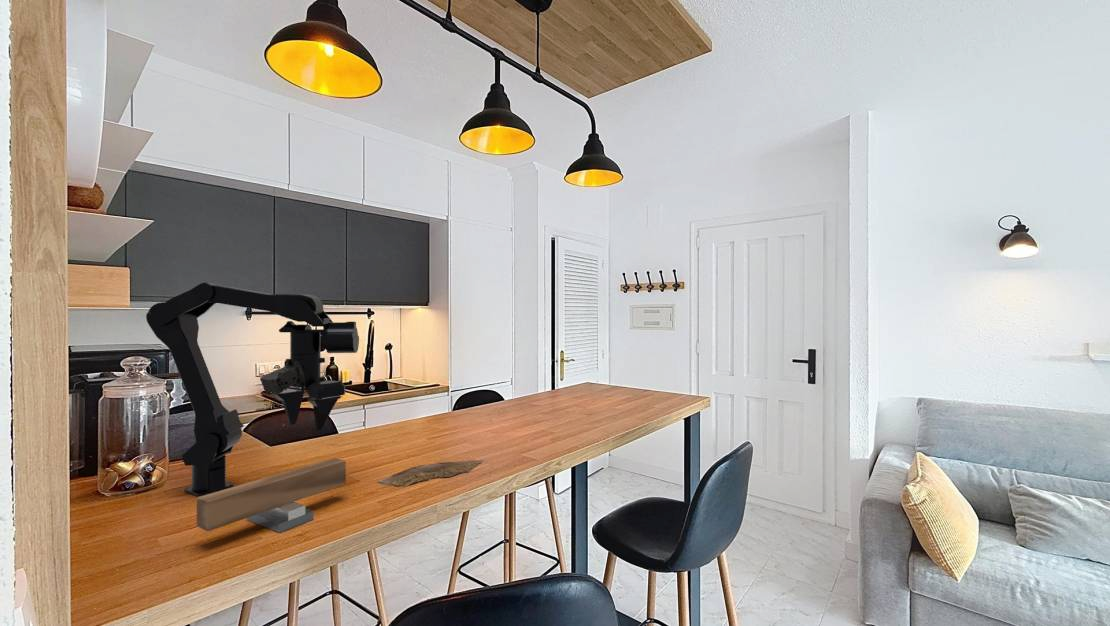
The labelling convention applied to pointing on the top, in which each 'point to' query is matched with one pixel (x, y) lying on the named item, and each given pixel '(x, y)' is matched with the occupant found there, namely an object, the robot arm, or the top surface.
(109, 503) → the top surface
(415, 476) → the wooden fragment
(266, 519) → the grey flat stepped block
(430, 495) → the top surface
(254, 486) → the walnut bar
